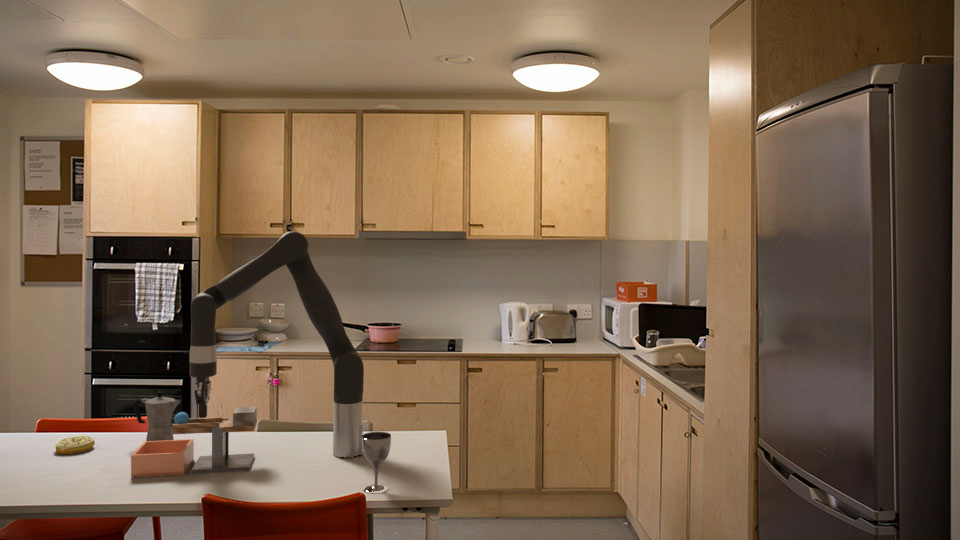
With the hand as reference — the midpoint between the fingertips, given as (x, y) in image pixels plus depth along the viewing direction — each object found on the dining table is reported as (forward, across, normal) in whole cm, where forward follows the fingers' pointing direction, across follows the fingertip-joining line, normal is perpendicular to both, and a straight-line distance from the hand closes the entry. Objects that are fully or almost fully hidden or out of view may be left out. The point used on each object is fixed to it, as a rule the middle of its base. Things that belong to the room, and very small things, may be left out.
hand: (202, 417), depth 199 cm
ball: (0, 0, +6) cm, 6 cm away
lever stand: (+15, 0, -5) cm, 16 cm away
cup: (+15, 0, +11) cm, 19 cm away
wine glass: (+15, -28, -50) cm, 59 cm away
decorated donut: (+16, +24, +43) cm, 52 cm away
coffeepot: (+15, +25, +19) cm, 35 cm away
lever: (+4, 0, -3) cm, 5 cm away
